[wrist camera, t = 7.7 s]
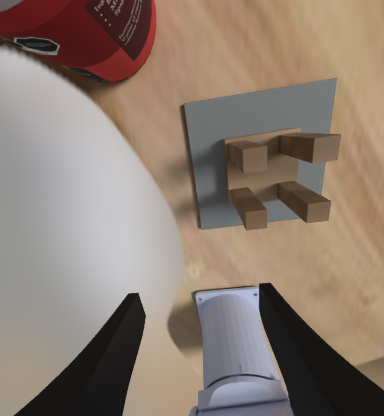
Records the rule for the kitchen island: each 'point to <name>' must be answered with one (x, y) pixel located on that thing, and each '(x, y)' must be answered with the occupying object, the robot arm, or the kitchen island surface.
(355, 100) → the kitchen island surface
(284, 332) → the robot arm
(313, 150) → the stool
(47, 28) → the canned food
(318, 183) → the mat
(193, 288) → the kitchen island surface
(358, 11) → the kitchen island surface
